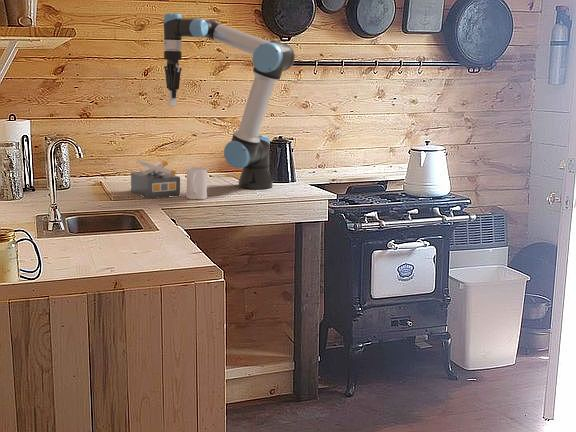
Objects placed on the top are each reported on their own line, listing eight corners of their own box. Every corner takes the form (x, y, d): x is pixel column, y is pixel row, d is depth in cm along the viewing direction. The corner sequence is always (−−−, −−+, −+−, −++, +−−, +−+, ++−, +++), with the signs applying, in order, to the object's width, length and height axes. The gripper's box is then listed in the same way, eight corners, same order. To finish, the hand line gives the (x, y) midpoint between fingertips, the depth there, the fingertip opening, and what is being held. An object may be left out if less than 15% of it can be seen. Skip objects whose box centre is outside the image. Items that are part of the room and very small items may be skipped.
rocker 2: (164, 163, 318) (163, 159, 317) (168, 164, 315) (166, 161, 314) (141, 173, 313) (140, 170, 312) (144, 175, 310) (143, 171, 310)
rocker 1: (159, 169, 323) (160, 165, 323) (162, 170, 321) (163, 167, 321) (136, 163, 317) (137, 159, 317) (139, 164, 314) (140, 160, 314)
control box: (162, 188, 327) (162, 165, 325) (180, 196, 312) (180, 172, 310) (131, 191, 320) (130, 167, 318) (148, 199, 305) (148, 174, 303)
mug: (201, 202, 303) (201, 172, 300) (180, 200, 305) (180, 170, 302) (209, 196, 314) (210, 167, 312) (189, 195, 316) (190, 166, 313)
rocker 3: (171, 174, 314) (172, 170, 314) (174, 175, 311) (175, 171, 311) (147, 167, 307) (148, 163, 307) (150, 168, 305) (151, 164, 305)
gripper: (158, 49, 332) (158, 104, 337) (171, 50, 322) (171, 107, 327) (174, 50, 336) (174, 104, 341) (187, 51, 326) (187, 106, 331)
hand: (172, 105), depth 334 cm, fingers closed
